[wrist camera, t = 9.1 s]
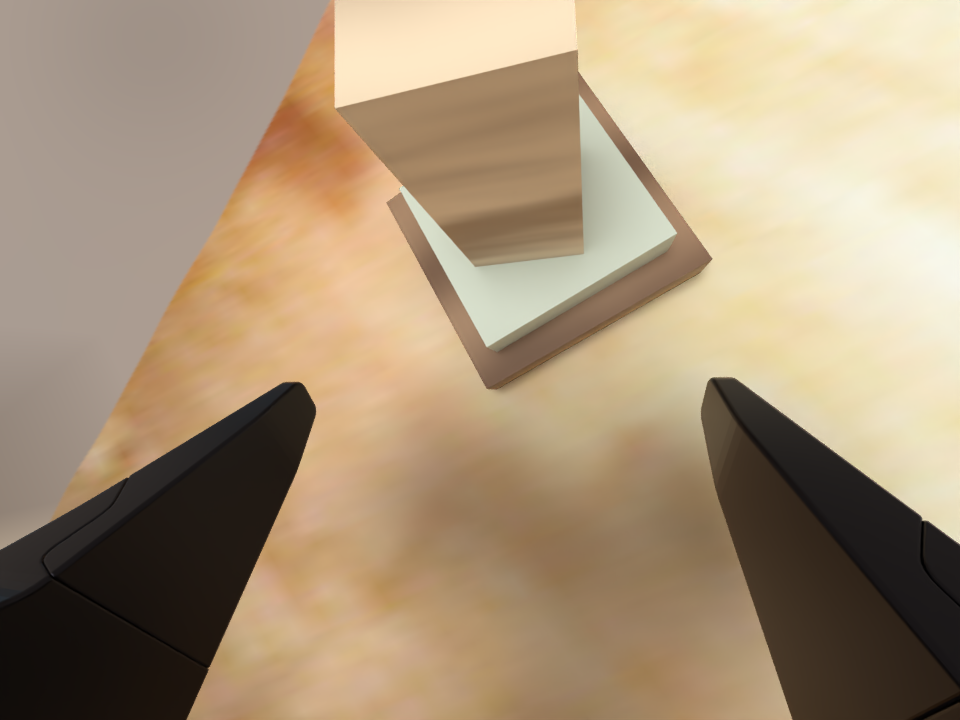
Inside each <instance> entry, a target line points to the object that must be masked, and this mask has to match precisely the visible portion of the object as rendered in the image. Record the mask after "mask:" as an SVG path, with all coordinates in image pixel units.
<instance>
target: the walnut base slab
mask: <svg viewBox="0 0 960 720" xmlns="http://www.w3.org/2000/svg"><path fill="white" fill-rule="evenodd" d="M578 82H579V95H580V96H581V98H582V99H583V100H584V102H585V103H586V105H587V106H588V107H589V109H590V110H591V112H592V113H593V115H594V116H595V117H596V119H597V120H598V122H599V123H600V124H601V126H602V127H603V129H604V130H605V132H606V133H607V134H608V136H609V137H610V139H611V140H612V141H613V143H614V144H615V146H616V147H617V149H618V150H619V151H620V153H621V154H622V156H623V157H624V158H625V160H626V161H627V163H628V164H629V165H630V167H631V168H632V170H633V171H634V173H635V174H636V175H637V177H638V178H639V180H640V181H641V182H642V184H643V185H644V187H645V188H646V190H647V191H648V192H649V194H650V195H651V197H652V198H653V199H654V201H655V202H656V204H657V205H658V207H659V208H660V209H661V211H662V212H663V214H664V215H665V216H666V218H667V219H668V221H669V222H670V224H671V225H672V226H673V228H674V229H675V231H676V232H677V235H676V237H675V238H674V240H673V242H672V244H671V246H670V247H669V249H668V251H667V252H665V253H663V254H662V255H660V256H658V257H657V258H655V259H653V260H652V261H650V262H648V263H647V264H645V265H643V266H642V267H640V268H638V269H636V270H635V271H633V272H631V273H630V274H628V275H626V276H625V277H623V278H621V279H620V280H618V281H616V282H615V283H613V284H611V285H609V286H608V287H606V288H604V289H603V290H601V291H599V292H598V293H596V294H594V295H593V296H591V297H589V298H588V299H586V300H584V301H583V302H581V303H579V304H577V305H576V306H574V307H572V308H571V309H569V310H567V311H566V312H564V313H562V314H561V315H559V316H557V317H556V318H554V319H552V320H550V321H549V322H547V323H545V324H544V325H542V326H540V327H539V328H537V329H535V330H534V331H532V332H530V333H529V334H527V335H525V336H523V337H522V338H520V339H518V340H517V341H515V342H513V343H512V344H510V345H508V346H507V347H505V348H503V349H502V350H500V351H498V352H496V351H494V350H492V349H489V348H487V347H486V345H485V343H484V341H483V340H482V338H481V336H480V334H479V332H478V331H477V329H476V327H475V325H474V323H473V321H472V320H471V318H470V316H469V314H468V312H467V311H466V309H465V307H464V305H463V303H462V302H461V300H460V298H459V296H458V294H457V292H456V291H455V289H454V287H453V285H452V283H451V282H450V280H449V278H448V276H447V274H446V273H445V271H444V269H443V267H442V265H441V264H440V262H439V260H438V258H437V256H436V254H435V253H434V251H433V249H432V247H431V245H430V244H429V242H428V240H427V238H426V236H425V235H424V233H423V231H422V229H421V227H420V226H419V224H418V222H417V220H416V218H415V216H414V215H413V213H412V211H411V209H410V207H409V206H408V204H407V202H406V200H405V198H404V197H403V195H402V193H399V194H398V195H396V196H395V197H394V198H392V199H391V200H389V201H388V202H387V205H388V206H389V208H390V210H391V212H392V214H393V216H394V218H395V219H396V221H397V223H398V225H399V227H400V229H401V231H402V232H403V234H404V236H405V238H406V240H407V242H408V244H409V245H410V247H411V249H412V251H413V253H414V255H415V256H416V258H417V260H418V262H419V264H420V266H421V268H422V269H423V271H424V273H425V275H426V277H427V279H428V281H429V282H430V284H431V286H432V288H433V290H434V292H435V294H436V295H437V297H438V299H439V301H440V303H441V305H442V307H443V308H444V310H445V312H446V314H447V316H448V318H449V319H450V321H451V323H452V325H453V327H454V329H455V331H456V332H457V334H458V336H459V338H460V340H461V342H462V344H463V345H464V347H465V349H466V351H467V353H468V355H469V357H470V358H471V360H472V362H473V364H474V366H475V368H476V370H477V371H478V373H479V375H480V377H481V379H482V381H483V382H484V384H485V386H486V388H487V389H498V388H500V387H501V386H503V385H505V384H507V383H508V382H510V381H512V380H514V379H515V378H517V377H519V376H521V375H522V374H524V373H526V372H528V371H529V370H531V369H533V368H535V367H536V366H538V365H540V364H542V363H543V362H545V361H547V360H549V359H550V358H552V357H554V356H556V355H557V354H559V353H561V352H563V351H564V350H566V349H568V348H569V347H571V346H573V345H575V344H576V343H578V342H580V341H582V340H583V339H585V338H587V337H589V336H590V335H592V334H594V333H596V332H597V331H599V330H601V329H603V328H604V327H606V326H608V325H610V324H611V323H613V322H615V321H617V320H618V319H620V318H622V317H624V316H625V315H627V314H629V313H631V312H632V311H634V310H636V309H637V308H639V307H641V306H643V305H644V304H646V303H648V302H650V301H651V300H653V299H655V298H657V297H658V296H660V295H662V294H664V293H665V292H667V291H669V290H671V289H672V288H674V287H676V286H678V285H679V284H681V283H683V282H685V281H686V280H688V279H690V278H692V277H693V276H695V275H697V274H699V273H700V272H701V271H702V270H703V269H704V268H705V266H706V265H707V264H708V263H709V262H710V261H711V260H712V258H711V256H710V255H709V253H708V252H707V251H706V249H705V248H704V246H703V245H702V244H701V242H700V241H699V240H698V238H697V237H696V235H695V234H694V233H693V231H692V230H691V228H690V227H689V226H688V224H687V223H686V221H685V220H684V219H683V217H682V216H681V214H680V213H679V212H678V210H677V209H676V207H675V206H674V205H673V203H672V202H671V200H670V199H669V198H668V196H667V195H666V193H665V192H664V191H663V189H662V188H661V186H660V185H659V184H658V182H657V181H656V180H655V178H654V177H653V175H652V174H651V173H650V171H649V170H648V168H647V167H646V166H645V164H644V163H643V161H642V160H641V159H640V157H639V156H638V154H637V153H636V152H635V150H634V149H633V147H632V146H631V145H630V143H629V142H628V140H627V139H626V138H625V136H624V135H623V133H622V132H621V131H620V129H619V128H618V126H617V125H616V124H615V122H614V121H613V119H612V118H611V117H610V115H609V114H608V113H607V111H606V110H605V108H604V107H603V106H602V104H601V103H600V101H599V100H598V99H597V97H596V96H595V94H594V93H593V92H592V90H591V89H590V87H589V86H588V85H587V83H586V82H585V80H584V79H583V78H582V76H581V75H580V73H579V72H578Z"/></svg>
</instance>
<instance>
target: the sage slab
mask: <svg viewBox="0 0 960 720" xmlns="http://www.w3.org/2000/svg"><path fill="white" fill-rule="evenodd" d="M579 114H580V146H581V178H582V210H583V242H584V254H581V255H572V256H564V257H555V258H547V259H538V260H530V261H521V262H513V263H505V264H496V265H488V266H479V267H475V266H474V265H473V264H472V263H471V262H470V261H469V259H468V258H467V257H466V256H465V255H464V254H463V253H462V251H461V250H460V249H459V248H458V247H457V246H456V245H455V244H454V242H453V241H452V240H451V239H450V238H449V237H448V236H447V235H446V233H445V232H444V231H443V230H442V229H441V228H440V227H439V225H438V224H437V223H436V222H435V221H434V220H433V219H432V218H431V216H430V215H429V214H428V213H427V212H426V211H425V210H424V209H423V207H422V206H421V205H420V204H419V203H418V202H417V201H416V199H415V198H414V197H413V196H412V195H411V194H410V193H409V192H408V190H407V189H406V188H405V187H404V186H402V187H401V188H399V189H400V191H401V193H402V195H403V197H404V198H405V200H406V202H407V204H408V206H409V207H410V209H411V211H412V213H413V215H414V216H415V218H416V220H417V222H418V224H419V226H420V227H421V229H422V231H423V233H424V235H425V236H426V238H427V240H428V242H429V244H430V245H431V247H432V249H433V251H434V253H435V254H436V256H437V258H438V260H439V262H440V264H441V265H442V267H443V269H444V271H445V273H446V274H447V276H448V278H449V280H450V282H451V283H452V285H453V287H454V289H455V291H456V292H457V294H458V296H459V298H460V300H461V302H462V303H463V305H464V307H465V309H466V311H467V312H468V314H469V316H470V318H471V320H472V321H473V323H474V325H475V327H476V329H477V331H478V332H479V334H480V336H481V338H482V340H483V341H484V343H485V345H486V347H487V348H489V349H492V350H494V351H496V352H498V351H500V350H502V349H503V348H505V347H507V346H508V345H510V344H512V343H513V342H515V341H517V340H518V339H520V338H522V337H523V336H525V335H527V334H529V333H530V332H532V331H534V330H535V329H537V328H539V327H540V326H542V325H544V324H545V323H547V322H549V321H550V320H552V319H554V318H556V317H557V316H559V315H561V314H562V313H564V312H566V311H567V310H569V309H571V308H572V307H574V306H576V305H577V304H579V303H581V302H583V301H584V300H586V299H588V298H589V297H591V296H593V295H594V294H596V293H598V292H599V291H601V290H603V289H604V288H606V287H608V286H609V285H611V284H613V283H615V282H616V281H618V280H620V279H621V278H623V277H625V276H626V275H628V274H630V273H631V272H633V271H635V270H636V269H638V268H640V267H642V266H643V265H645V264H647V263H648V262H650V261H652V260H653V259H655V258H657V257H658V256H660V255H662V254H663V253H665V252H667V251H668V249H669V247H670V246H671V244H672V242H673V240H674V238H675V237H676V235H677V232H676V231H675V229H674V228H673V226H672V225H671V224H670V222H669V221H668V219H667V218H666V216H665V215H664V214H663V212H662V211H661V209H660V208H659V207H658V205H657V204H656V202H655V201H654V199H653V198H652V197H651V195H650V194H649V192H648V191H647V190H646V188H645V187H644V185H643V184H642V182H641V181H640V180H639V178H638V177H637V175H636V174H635V173H634V171H633V170H632V168H631V167H630V165H629V164H628V163H627V161H626V160H625V158H624V157H623V156H622V154H621V153H620V151H619V150H618V149H617V147H616V146H615V144H614V143H613V141H612V140H611V139H610V137H609V136H608V134H607V133H606V132H605V130H604V129H603V127H602V126H601V124H600V123H599V122H598V120H597V119H596V117H595V116H594V115H593V113H592V112H591V110H590V109H589V107H588V106H587V105H586V103H585V102H584V100H583V99H582V98H581V96H580V95H579Z"/></svg>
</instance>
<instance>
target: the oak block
mask: <svg viewBox="0 0 960 720" xmlns="http://www.w3.org/2000/svg"><path fill="white" fill-rule="evenodd" d="M335 109H336V110H337V111H338V112H339V114H340V115H341V116H342V117H343V118H344V119H345V120H346V122H347V123H348V124H349V125H350V126H351V127H352V128H353V129H354V131H355V132H356V133H357V134H358V135H359V136H360V137H361V138H362V140H363V141H364V142H365V143H366V144H367V145H368V146H369V147H370V149H371V150H372V151H373V152H374V153H375V154H376V155H377V157H378V158H379V159H380V160H381V161H382V162H383V163H384V164H385V166H386V167H387V168H388V169H389V170H390V171H391V172H392V173H393V175H394V176H395V177H396V178H397V179H398V180H399V181H400V183H401V184H402V185H403V186H404V187H405V188H406V189H407V190H408V192H409V193H410V194H411V195H412V196H413V197H414V198H415V199H416V201H417V202H418V203H419V204H420V205H421V206H422V207H423V209H424V210H425V211H426V212H427V213H428V214H429V215H430V216H431V218H432V219H433V220H434V221H435V222H436V223H437V224H438V225H439V227H440V228H441V229H442V230H443V231H444V232H445V233H446V235H447V236H448V237H449V238H450V239H451V240H452V241H453V242H454V244H455V245H456V246H457V247H458V248H459V249H460V250H461V251H462V253H463V254H464V255H465V256H466V257H467V258H468V259H469V261H470V262H471V263H472V264H473V265H474V266H475V267H479V266H488V265H496V264H505V263H513V262H521V261H530V260H538V259H547V258H555V257H564V256H572V255H581V254H584V242H583V210H582V178H581V146H580V114H579V82H578V50H577V33H576V17H575V0H335Z"/></svg>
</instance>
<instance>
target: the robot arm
mask: <svg viewBox="0 0 960 720" xmlns="http://www.w3.org/2000/svg"><path fill="white" fill-rule="evenodd" d="M315 416H316V407H315V404H314V402H313V401H312V399H311V397H310V395H309V393H308V392H307V390H306V388H305V386H304V385H303V384H302V383H300V382H284V383H282V384H280V385H278V386H277V387H275V388H273V389H272V390H270V391H268V392H267V393H265V394H263V395H262V396H260V397H259V398H257V399H255V400H254V401H252V402H250V403H249V404H247V405H245V406H244V407H242V408H240V409H239V410H237V411H236V412H234V413H232V414H231V415H229V416H227V417H226V418H224V419H222V420H221V421H219V422H217V423H216V424H214V425H212V426H211V427H209V428H208V429H206V430H204V431H203V432H201V433H199V434H198V435H196V436H194V437H193V438H191V439H189V440H188V441H186V442H185V443H183V444H181V445H180V446H178V447H176V448H175V449H173V450H171V451H170V452H168V453H166V454H165V455H163V456H161V457H160V458H158V459H157V460H155V461H153V462H152V463H150V464H148V465H147V466H145V467H143V468H142V469H140V470H138V471H137V472H135V473H134V474H132V475H131V476H130V477H129V478H125V479H123V480H122V481H120V482H119V483H117V484H115V485H114V486H112V487H110V488H109V489H107V490H105V491H104V492H102V493H100V494H99V495H97V496H95V497H94V498H92V499H90V500H88V501H87V502H85V503H83V504H82V505H80V506H78V507H77V508H75V509H73V510H71V511H69V512H68V513H66V514H64V515H62V516H61V517H59V518H57V519H55V520H54V521H52V522H50V523H48V524H46V525H45V526H43V527H41V528H39V529H37V530H36V531H34V532H32V533H30V534H28V535H26V536H25V537H23V538H21V539H19V540H17V541H16V542H14V543H12V544H10V545H8V546H7V547H5V548H3V549H1V550H0V720H187V717H188V715H189V713H190V711H191V708H192V706H193V704H194V702H195V699H196V697H197V695H198V693H199V690H200V688H201V686H202V684H203V682H204V679H205V677H206V675H207V673H208V670H209V669H208V668H209V667H210V665H211V663H212V661H213V658H214V656H215V654H216V652H217V649H218V647H219V645H220V643H221V641H222V638H223V636H224V634H225V632H226V629H227V627H228V625H229V623H230V620H231V618H232V616H233V614H234V611H235V609H236V607H237V605H238V603H239V600H240V598H241V596H242V594H243V591H244V589H245V587H246V585H247V582H248V580H249V578H250V576H251V573H252V571H253V569H254V567H255V564H256V562H257V560H258V558H259V556H260V553H261V551H262V549H263V547H264V544H265V542H266V540H267V538H268V535H269V533H270V531H271V529H272V526H273V524H274V522H275V520H276V517H277V515H278V513H279V511H280V509H281V506H282V504H283V502H284V500H285V497H286V495H287V493H288V491H289V488H290V486H291V484H292V482H293V479H294V477H295V475H296V472H297V470H298V467H299V464H300V461H301V458H302V455H303V452H304V449H305V446H306V443H307V440H308V437H309V434H310V431H311V428H312V425H313V422H314V419H315ZM701 419H702V424H703V429H704V434H705V439H706V444H707V449H708V455H709V460H710V465H711V470H712V475H713V479H714V484H715V488H716V492H717V495H718V498H719V502H720V505H721V508H722V510H723V513H724V516H725V519H726V522H727V525H728V528H729V531H730V534H731V537H732V540H733V543H734V546H735V549H736V552H737V555H738V558H739V561H740V564H741V567H742V570H743V573H744V576H745V579H746V582H747V585H748V588H749V591H750V594H751V597H752V600H753V603H754V606H755V609H756V612H757V615H758V618H759V621H760V624H761V627H762V630H763V633H764V636H765V639H766V642H767V645H768V648H769V651H770V654H771V657H772V660H773V663H774V666H775V669H776V672H777V675H778V678H779V681H780V684H781V687H782V690H783V693H784V695H785V698H786V701H787V704H788V707H789V710H790V713H791V716H792V719H793V720H960V544H959V543H957V542H956V541H954V540H953V539H952V538H950V537H949V536H948V535H946V534H945V533H944V532H942V531H941V530H940V529H938V528H937V527H935V526H934V525H933V524H931V523H930V522H929V521H922V517H921V516H920V515H919V514H918V513H916V512H915V511H914V510H912V509H911V508H910V507H908V506H907V505H905V504H904V503H903V502H901V501H900V500H899V499H897V498H896V497H895V496H893V495H892V494H891V493H889V492H888V491H887V490H885V489H884V488H883V487H881V486H880V485H878V484H877V483H876V482H874V481H873V480H872V479H870V478H869V477H868V476H866V475H865V474H864V473H862V472H861V471H860V470H858V469H857V468H856V467H854V466H853V465H851V464H850V463H849V462H847V461H846V460H845V459H843V458H842V457H841V456H839V455H838V454H837V453H835V452H834V451H833V450H831V449H830V448H829V447H827V446H826V445H824V444H823V443H822V442H820V441H819V440H818V439H816V438H815V437H814V436H812V435H811V434H810V433H808V432H807V431H806V430H804V429H803V428H802V427H800V426H799V425H798V424H796V423H795V422H793V421H792V420H791V419H789V418H788V417H787V416H785V415H784V414H783V413H781V412H780V411H779V410H777V409H776V408H775V407H773V406H772V405H771V404H769V403H768V402H766V401H765V400H764V399H762V398H761V397H760V396H758V395H757V394H756V393H754V392H753V391H752V390H750V389H749V388H748V387H746V386H745V385H744V384H742V383H741V382H739V381H738V380H737V379H735V378H731V377H714V378H711V379H710V380H709V381H708V383H707V387H706V391H705V395H704V399H703V403H702V407H701Z"/></svg>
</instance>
